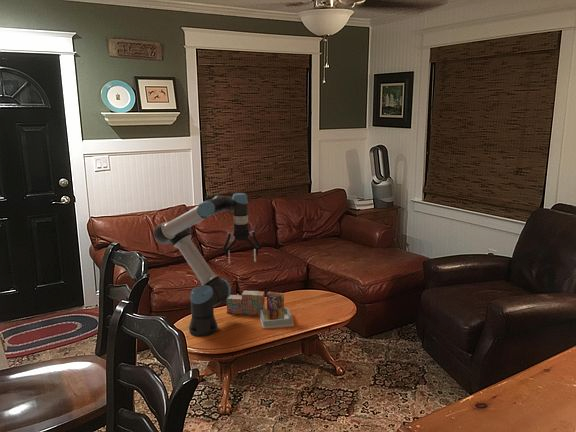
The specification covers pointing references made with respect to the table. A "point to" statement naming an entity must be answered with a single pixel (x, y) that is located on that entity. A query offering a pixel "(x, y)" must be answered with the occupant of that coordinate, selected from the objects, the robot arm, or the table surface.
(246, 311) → the stack of blocks
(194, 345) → the table surface
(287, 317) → the open storage bin
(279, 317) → the candy box
